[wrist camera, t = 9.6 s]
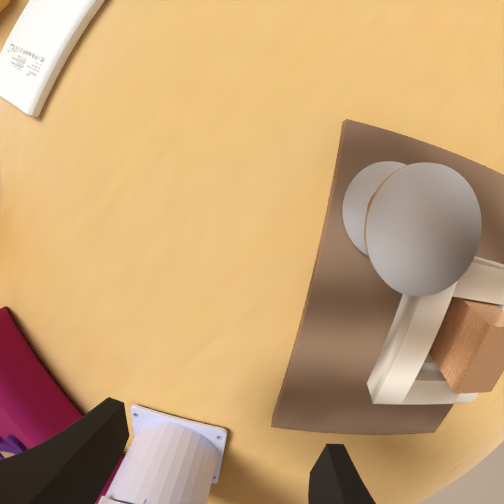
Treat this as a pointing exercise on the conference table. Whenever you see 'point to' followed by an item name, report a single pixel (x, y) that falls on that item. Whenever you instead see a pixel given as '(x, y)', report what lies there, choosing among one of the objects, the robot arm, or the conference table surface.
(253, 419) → the conference table surface
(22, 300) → the conference table surface
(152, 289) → the conference table surface
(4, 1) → the rubber stamp
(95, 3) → the external hard drive
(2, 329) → the book
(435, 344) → the orange and brown block
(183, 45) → the conference table surface
